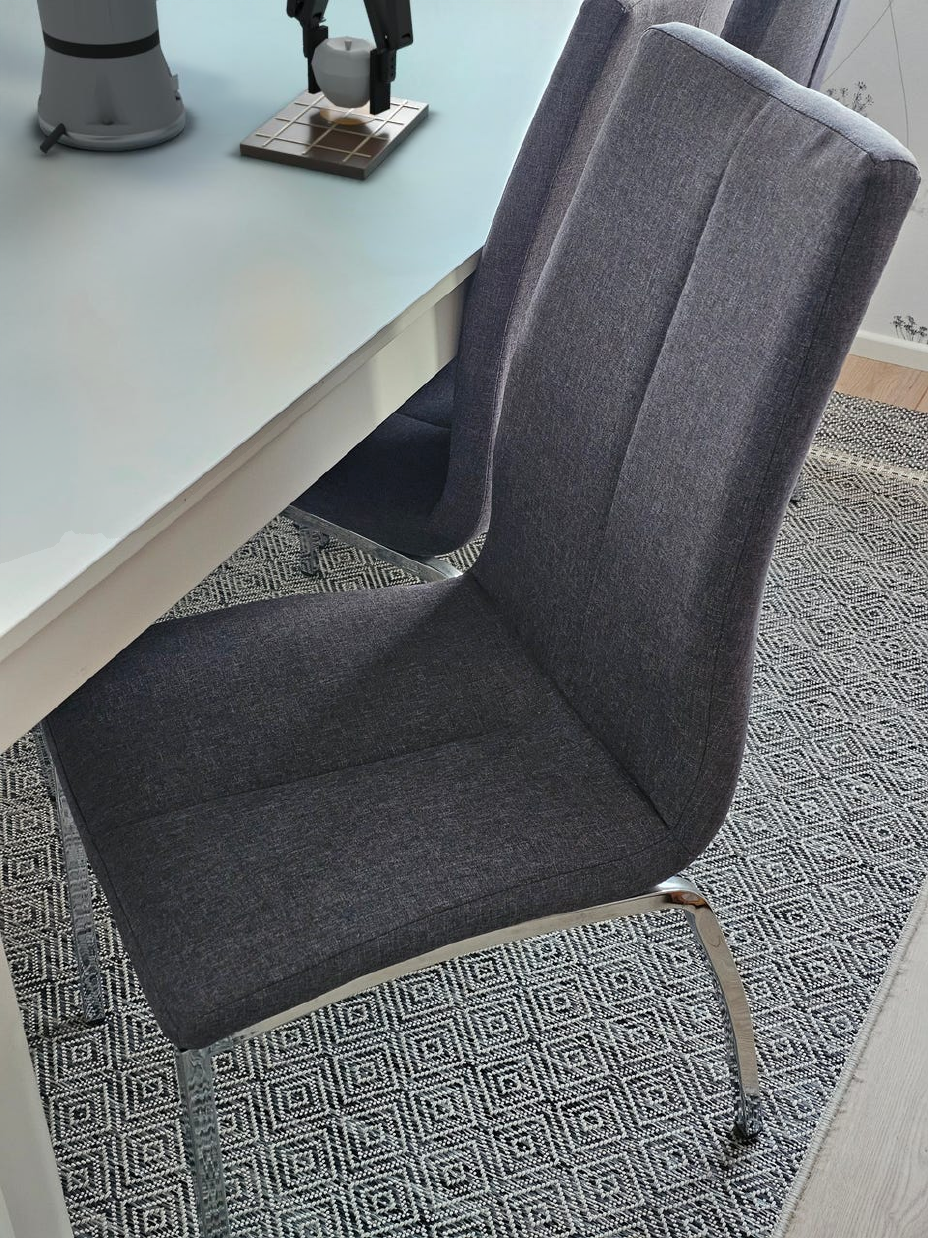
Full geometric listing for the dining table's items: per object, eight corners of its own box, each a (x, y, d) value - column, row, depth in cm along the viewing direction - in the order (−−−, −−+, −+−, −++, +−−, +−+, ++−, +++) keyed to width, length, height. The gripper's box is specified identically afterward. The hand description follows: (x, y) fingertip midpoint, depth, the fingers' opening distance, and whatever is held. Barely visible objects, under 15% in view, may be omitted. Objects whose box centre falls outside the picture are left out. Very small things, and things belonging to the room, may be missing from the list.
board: (364, 180, 123) (364, 167, 122) (240, 154, 126) (239, 142, 125) (428, 114, 137) (429, 102, 137) (315, 92, 140) (315, 80, 139)
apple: (399, 103, 133) (400, 41, 129) (352, 122, 128) (352, 58, 124) (344, 84, 136) (344, 22, 132) (297, 102, 131) (295, 38, 127)
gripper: (457, -124, 115) (445, 116, 130) (292, -164, 123) (299, 67, 138) (410, -112, 110) (403, 136, 126) (242, -154, 118) (255, 84, 134)
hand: (348, 100), depth 132 cm, fingers closed on apple, 8 cm apart
